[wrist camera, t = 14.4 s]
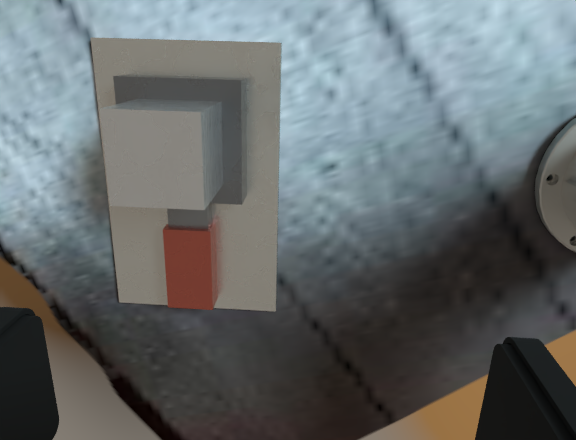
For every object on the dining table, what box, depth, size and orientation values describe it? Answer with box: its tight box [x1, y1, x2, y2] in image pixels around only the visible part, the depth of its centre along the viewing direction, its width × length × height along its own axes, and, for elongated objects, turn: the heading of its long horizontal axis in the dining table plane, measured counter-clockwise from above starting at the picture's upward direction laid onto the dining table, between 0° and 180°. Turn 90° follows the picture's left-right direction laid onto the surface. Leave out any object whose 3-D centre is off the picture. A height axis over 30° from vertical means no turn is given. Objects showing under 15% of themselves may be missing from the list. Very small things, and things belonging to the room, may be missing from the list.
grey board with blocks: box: [91, 38, 282, 311], centre depth 35 cm, size 14×22×7 cm, turn 178°
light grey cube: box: [100, 99, 223, 210], centre depth 31 cm, size 6×6×6 cm
